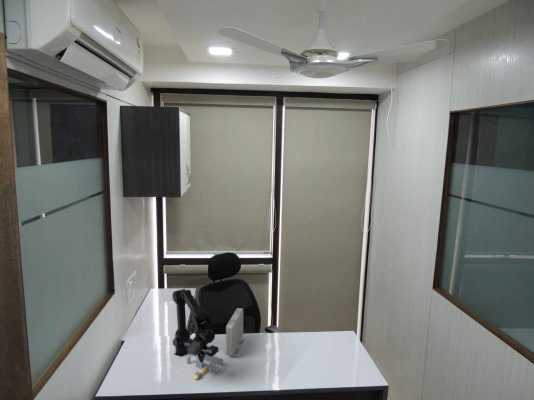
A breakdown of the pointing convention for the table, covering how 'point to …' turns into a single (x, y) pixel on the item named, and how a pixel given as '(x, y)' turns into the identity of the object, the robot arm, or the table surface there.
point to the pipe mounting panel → (200, 368)
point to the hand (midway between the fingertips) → (201, 362)
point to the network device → (234, 333)
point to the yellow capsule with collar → (201, 373)
